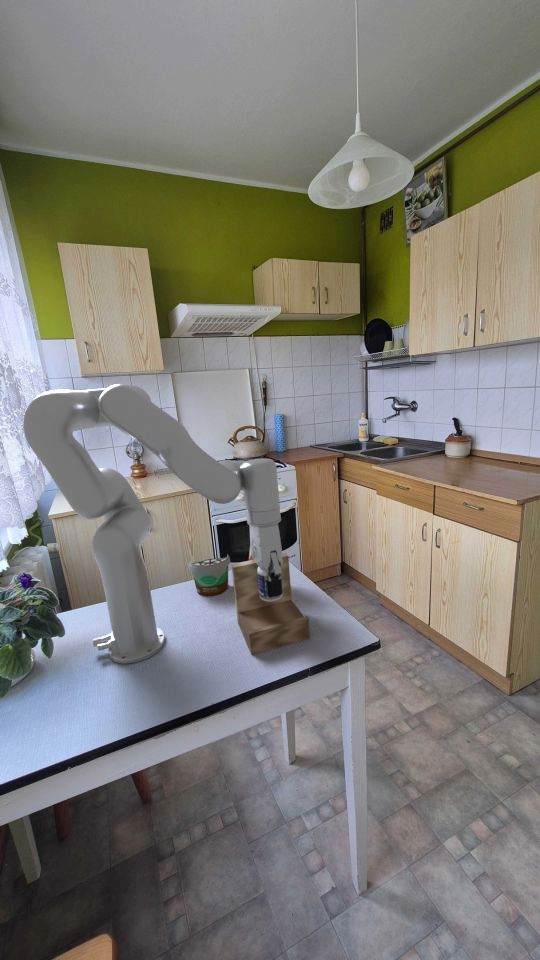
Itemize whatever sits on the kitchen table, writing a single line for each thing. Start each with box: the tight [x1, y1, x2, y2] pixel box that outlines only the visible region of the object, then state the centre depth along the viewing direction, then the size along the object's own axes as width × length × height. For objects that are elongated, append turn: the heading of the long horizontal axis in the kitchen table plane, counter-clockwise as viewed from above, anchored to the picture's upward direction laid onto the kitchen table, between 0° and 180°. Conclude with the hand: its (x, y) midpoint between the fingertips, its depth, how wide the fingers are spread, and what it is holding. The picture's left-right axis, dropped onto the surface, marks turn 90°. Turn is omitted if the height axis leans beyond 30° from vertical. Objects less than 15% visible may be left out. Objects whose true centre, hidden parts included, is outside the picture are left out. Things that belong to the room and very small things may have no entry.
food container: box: [188, 555, 231, 598], centre depth 111 cm, size 12×6×10 cm, turn 104°
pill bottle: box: [257, 564, 283, 602], centre depth 88 cm, size 5×5×10 cm
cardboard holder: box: [230, 552, 311, 656], centre depth 90 cm, size 14×13×16 cm
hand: (270, 588), depth 89 cm, fingers closed on pill bottle, 5 cm apart
